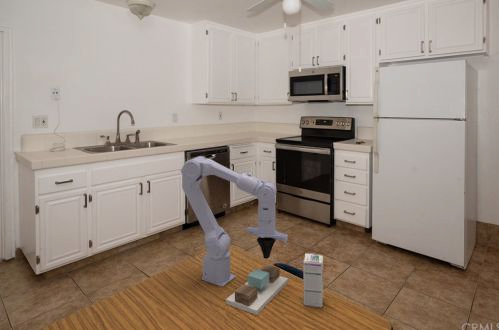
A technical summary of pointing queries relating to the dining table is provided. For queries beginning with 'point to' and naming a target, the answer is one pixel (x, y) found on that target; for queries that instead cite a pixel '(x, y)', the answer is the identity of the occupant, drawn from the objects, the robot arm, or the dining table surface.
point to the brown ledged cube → (246, 294)
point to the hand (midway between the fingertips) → (266, 257)
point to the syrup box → (313, 280)
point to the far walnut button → (272, 272)
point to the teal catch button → (258, 278)
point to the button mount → (260, 296)
